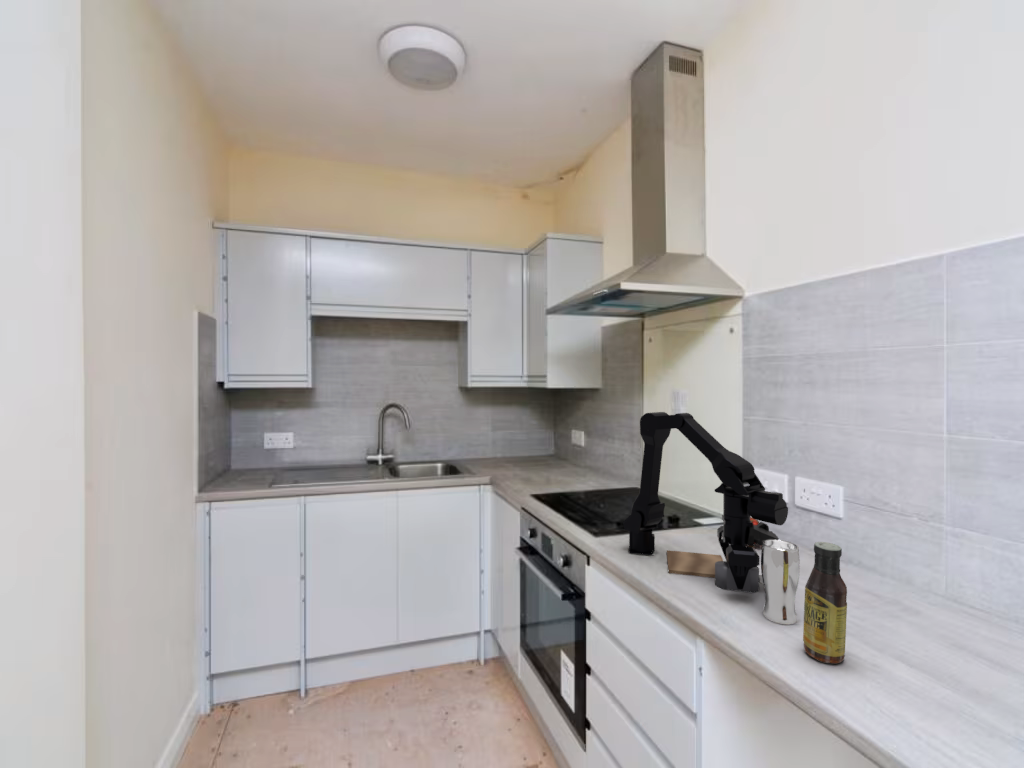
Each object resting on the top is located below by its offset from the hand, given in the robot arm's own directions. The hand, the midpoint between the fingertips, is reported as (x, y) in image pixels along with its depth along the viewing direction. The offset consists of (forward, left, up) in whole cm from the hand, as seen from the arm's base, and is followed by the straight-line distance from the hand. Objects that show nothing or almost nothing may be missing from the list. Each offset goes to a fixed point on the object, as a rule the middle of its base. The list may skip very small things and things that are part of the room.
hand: (736, 580), depth 112 cm
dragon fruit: (+9, +32, -2) cm, 33 cm away
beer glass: (+6, -13, -2) cm, 14 cm away
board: (-8, +11, -1) cm, 14 cm away
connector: (+1, 0, -1) cm, 2 cm away
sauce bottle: (+10, -26, -2) cm, 28 cm away
